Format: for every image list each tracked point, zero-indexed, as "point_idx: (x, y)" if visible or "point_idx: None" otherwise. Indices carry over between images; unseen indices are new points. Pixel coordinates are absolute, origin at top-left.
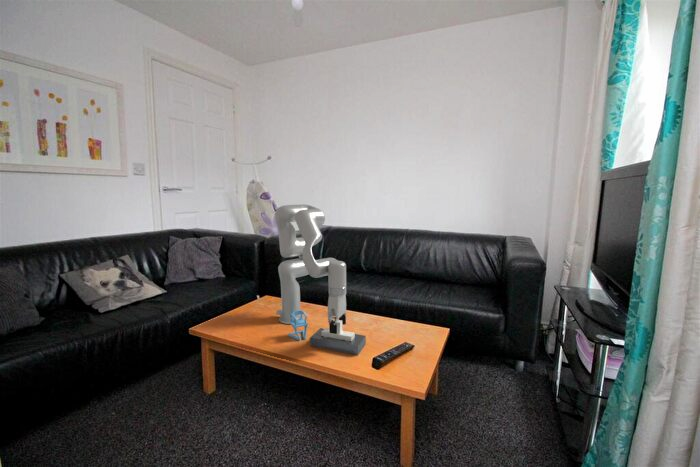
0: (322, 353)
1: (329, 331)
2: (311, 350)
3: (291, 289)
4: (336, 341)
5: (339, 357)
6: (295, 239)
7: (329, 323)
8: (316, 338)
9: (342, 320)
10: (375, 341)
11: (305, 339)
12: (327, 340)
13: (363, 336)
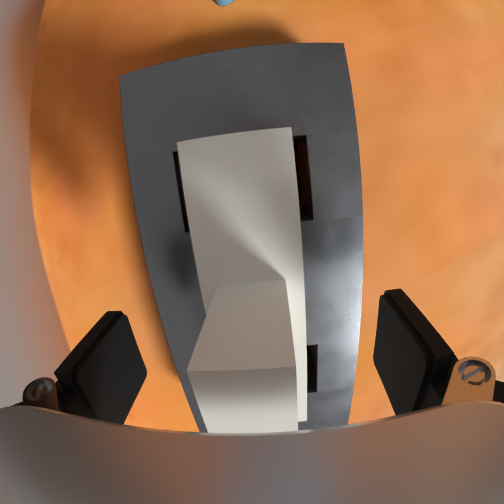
0: (114, 225)
1: (224, 226)
2: (109, 138)
3: None
4: (171, 321)
5: (138, 333)
6: None
7: (29, 393)
8: (126, 136)
9: (392, 365)
10: (381, 405)
11: (219, 5)
12: (144, 247)
13: (333, 423)
